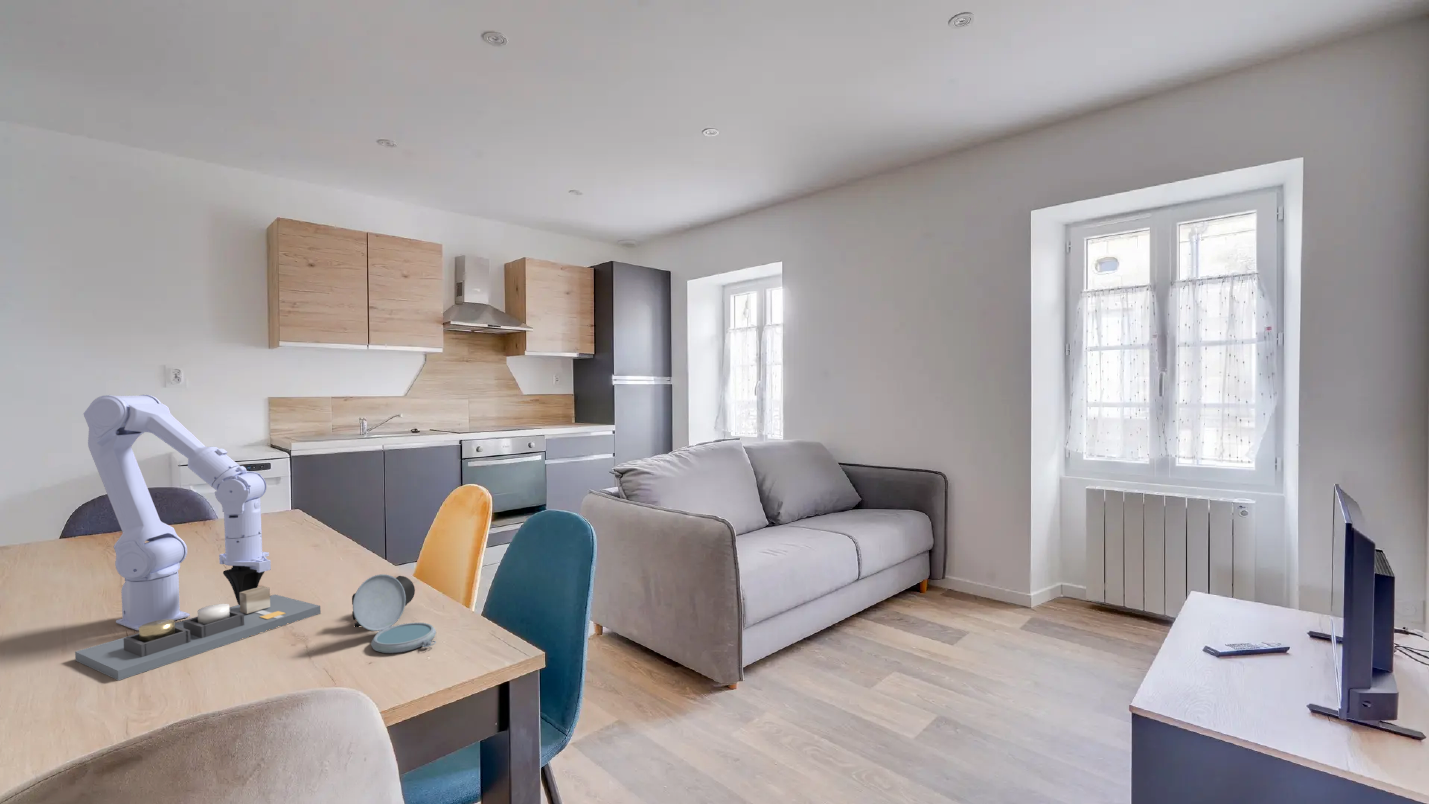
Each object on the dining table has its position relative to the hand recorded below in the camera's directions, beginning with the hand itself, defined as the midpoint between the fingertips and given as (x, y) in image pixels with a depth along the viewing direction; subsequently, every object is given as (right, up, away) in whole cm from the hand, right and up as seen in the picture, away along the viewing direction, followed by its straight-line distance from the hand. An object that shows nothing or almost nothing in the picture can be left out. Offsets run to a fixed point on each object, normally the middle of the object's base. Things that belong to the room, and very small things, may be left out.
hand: (246, 603), depth 118 cm
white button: (+2, +1, -10) cm, 10 cm away
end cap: (+29, -2, -2) cm, 29 cm away
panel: (0, -3, -9) cm, 9 cm away
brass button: (-1, 0, -17) cm, 17 cm away
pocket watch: (+38, -3, -13) cm, 40 cm away
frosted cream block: (+3, -1, -1) cm, 3 cm away
